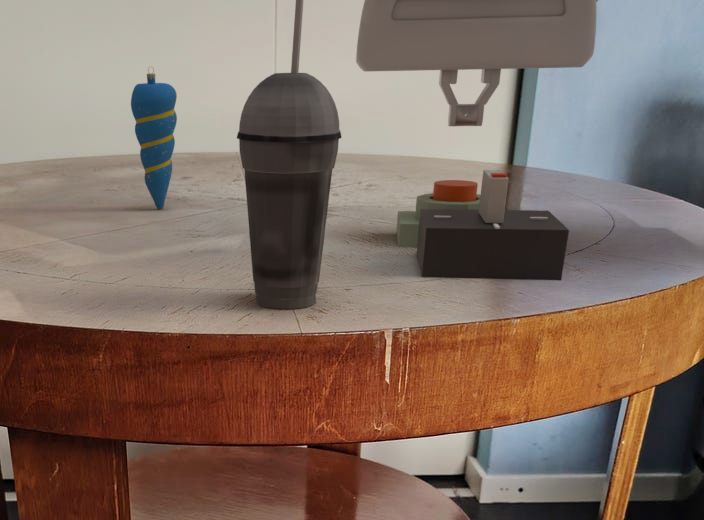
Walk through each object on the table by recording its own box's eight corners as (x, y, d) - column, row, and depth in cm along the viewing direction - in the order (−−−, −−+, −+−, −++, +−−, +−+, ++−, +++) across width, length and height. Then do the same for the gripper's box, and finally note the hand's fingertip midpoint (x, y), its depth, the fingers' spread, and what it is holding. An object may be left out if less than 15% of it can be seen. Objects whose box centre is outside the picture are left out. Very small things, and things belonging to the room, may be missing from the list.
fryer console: (541, 256, 80) (548, 208, 78) (561, 281, 72) (569, 227, 70) (416, 254, 82) (420, 206, 80) (421, 278, 74) (426, 225, 72)
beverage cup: (308, 285, 72) (317, -2, 62) (352, 307, 66) (369, -7, 56) (223, 294, 69) (219, -3, 60) (260, 318, 63) (262, -8, 54)
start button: (473, 199, 87) (475, 180, 86) (477, 206, 83) (480, 186, 82) (431, 198, 87) (432, 179, 86) (433, 205, 84) (435, 185, 83)
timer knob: (478, 212, 77) (483, 166, 76) (495, 213, 77) (500, 166, 75) (485, 223, 73) (491, 174, 71) (502, 223, 73) (509, 174, 71)
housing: (498, 235, 89) (503, 192, 87) (508, 249, 83) (514, 204, 81) (396, 233, 91) (399, 191, 89) (398, 247, 84) (401, 203, 83)
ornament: (189, 209, 105) (185, 66, 98) (153, 214, 102) (146, 67, 95) (163, 204, 108) (158, 65, 101) (128, 209, 105) (119, 67, 98)
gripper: (601, -53, 77) (576, 121, 83) (360, -45, 80) (353, 124, 86) (620, -61, 71) (591, 127, 78) (360, -52, 74) (353, 129, 80)
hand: (464, 125), depth 82 cm, fingers closed
